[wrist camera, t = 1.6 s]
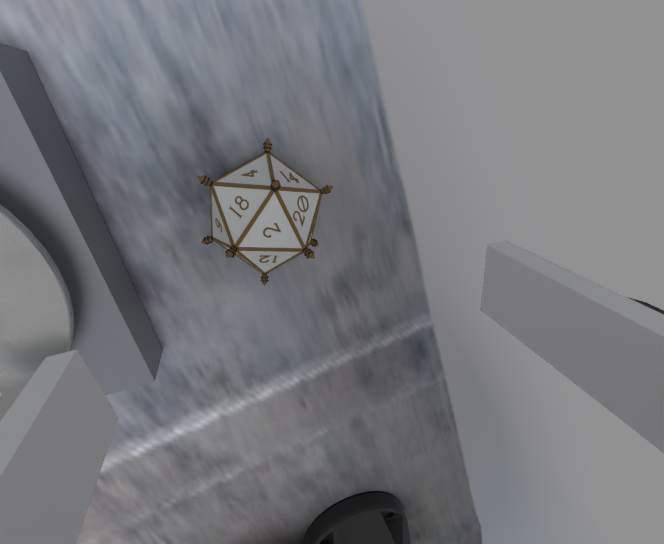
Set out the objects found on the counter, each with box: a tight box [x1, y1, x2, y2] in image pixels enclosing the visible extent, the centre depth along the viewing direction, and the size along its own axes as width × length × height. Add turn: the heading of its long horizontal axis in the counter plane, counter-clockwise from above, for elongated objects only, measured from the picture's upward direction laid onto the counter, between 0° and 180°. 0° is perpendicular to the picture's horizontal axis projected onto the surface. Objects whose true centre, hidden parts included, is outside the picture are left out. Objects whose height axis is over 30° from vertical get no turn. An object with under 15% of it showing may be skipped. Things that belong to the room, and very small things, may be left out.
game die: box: [197, 138, 333, 285], centre depth 23 cm, size 9×8×10 cm
